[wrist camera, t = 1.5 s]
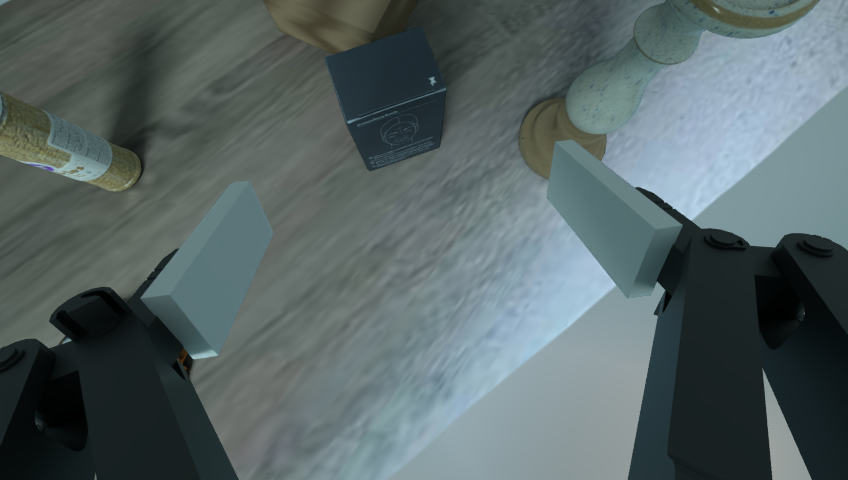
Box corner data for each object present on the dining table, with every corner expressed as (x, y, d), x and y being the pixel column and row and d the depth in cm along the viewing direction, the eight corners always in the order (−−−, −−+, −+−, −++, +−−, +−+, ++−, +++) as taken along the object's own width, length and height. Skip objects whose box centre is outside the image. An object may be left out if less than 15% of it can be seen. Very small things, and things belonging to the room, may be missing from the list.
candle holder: (502, 153, 34) (619, -30, 14) (544, 87, 36) (708, -170, 15) (575, 198, 34) (804, 74, 14) (616, 130, 35) (883, -78, 15)
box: (421, 100, 35) (423, 22, 25) (440, 148, 34) (449, 89, 24) (350, 123, 35) (321, 54, 24) (368, 173, 34) (345, 123, 24)
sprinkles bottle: (98, 194, 33) (-118, 134, 20) (98, 151, 34) (-110, 64, 20) (144, 189, 33) (-38, 126, 20) (144, 146, 34) (-33, 57, 21)
